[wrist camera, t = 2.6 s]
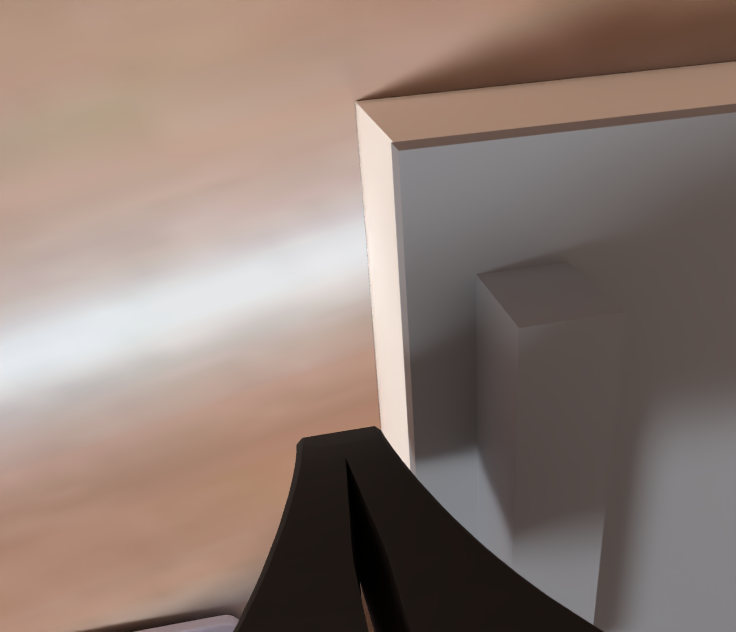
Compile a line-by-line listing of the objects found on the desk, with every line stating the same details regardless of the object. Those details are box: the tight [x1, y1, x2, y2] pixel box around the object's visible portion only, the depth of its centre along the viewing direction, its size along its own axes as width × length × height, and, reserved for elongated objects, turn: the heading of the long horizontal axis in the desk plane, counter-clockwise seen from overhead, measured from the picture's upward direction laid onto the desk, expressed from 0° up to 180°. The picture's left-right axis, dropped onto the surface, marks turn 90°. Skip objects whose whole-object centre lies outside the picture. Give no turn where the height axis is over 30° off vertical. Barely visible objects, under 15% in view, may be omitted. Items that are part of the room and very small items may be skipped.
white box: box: [355, 61, 736, 469], centre depth 18 cm, size 14×16×5 cm
